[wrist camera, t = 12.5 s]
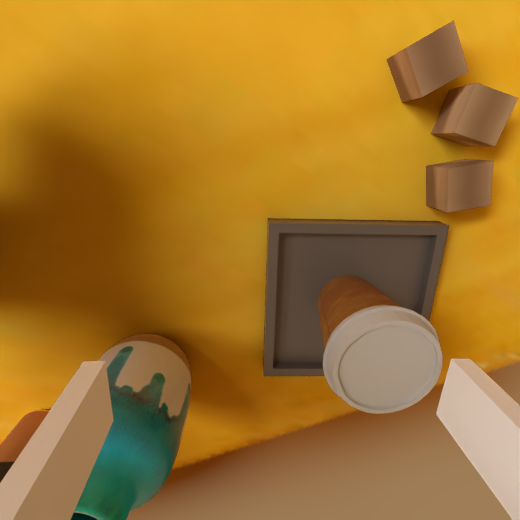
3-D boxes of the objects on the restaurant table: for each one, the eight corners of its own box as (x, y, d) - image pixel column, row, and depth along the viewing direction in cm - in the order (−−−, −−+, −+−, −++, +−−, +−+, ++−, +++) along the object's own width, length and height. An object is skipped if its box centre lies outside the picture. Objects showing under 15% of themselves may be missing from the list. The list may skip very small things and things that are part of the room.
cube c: (401, 102, 32) (422, 97, 28) (386, 59, 31) (405, 48, 27) (441, 79, 31) (468, 71, 28) (427, 35, 30) (453, 20, 26)
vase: (104, 387, 41) (-8, 581, 23) (110, 311, 38) (-16, 466, 20) (191, 400, 42) (149, 594, 24) (205, 326, 39) (167, 487, 21)
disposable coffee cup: (404, 301, 38) (472, 369, 26) (338, 352, 40) (375, 437, 28) (352, 242, 35) (402, 289, 24) (284, 300, 37) (301, 369, 26)
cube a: (425, 205, 35) (447, 212, 31) (425, 165, 34) (448, 168, 30) (464, 198, 35) (490, 205, 31) (465, 158, 34) (493, 161, 30)
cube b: (430, 133, 33) (454, 132, 29) (449, 90, 32) (476, 82, 28) (466, 146, 33) (494, 146, 30) (486, 103, 32) (518, 98, 28)
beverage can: (15, 410, 42) (-105, 548, 28) (62, 403, 42) (-34, 537, 27) (33, 446, 44) (-70, 592, 29) (78, 439, 44) (-3, 583, 29)
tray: (263, 365, 41) (263, 376, 39) (268, 218, 35) (269, 222, 33) (409, 365, 41) (417, 375, 40) (438, 221, 36) (449, 225, 34)
